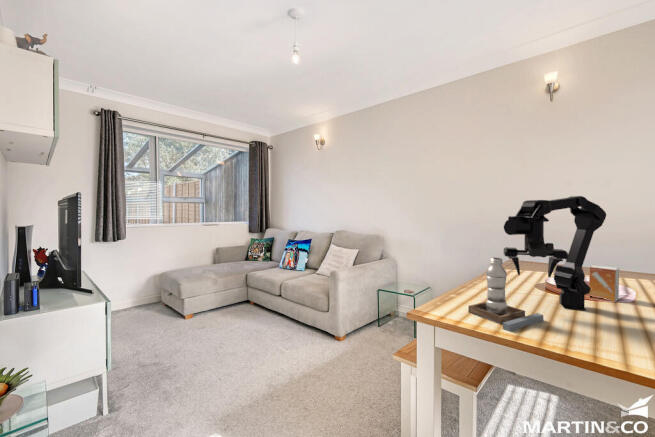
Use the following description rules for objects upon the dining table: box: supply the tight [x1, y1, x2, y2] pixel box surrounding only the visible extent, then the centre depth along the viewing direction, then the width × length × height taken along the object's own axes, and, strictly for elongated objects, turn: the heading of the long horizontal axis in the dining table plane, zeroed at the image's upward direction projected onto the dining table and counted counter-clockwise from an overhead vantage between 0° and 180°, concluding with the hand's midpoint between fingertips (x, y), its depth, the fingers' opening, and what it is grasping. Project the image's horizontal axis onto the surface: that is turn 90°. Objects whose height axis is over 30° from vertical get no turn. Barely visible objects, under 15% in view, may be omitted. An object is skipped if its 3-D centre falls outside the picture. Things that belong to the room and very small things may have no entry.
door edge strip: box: [502, 312, 544, 332], centre depth 94 cm, size 18×2×2 cm, turn 114°
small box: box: [588, 264, 620, 303], centre depth 119 cm, size 8×6×13 cm
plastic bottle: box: [485, 257, 508, 315], centre depth 103 cm, size 6×7×20 cm
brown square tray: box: [467, 301, 526, 325], centre depth 103 cm, size 13×13×2 cm
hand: (533, 276), depth 106 cm, fingers open, 9 cm apart
